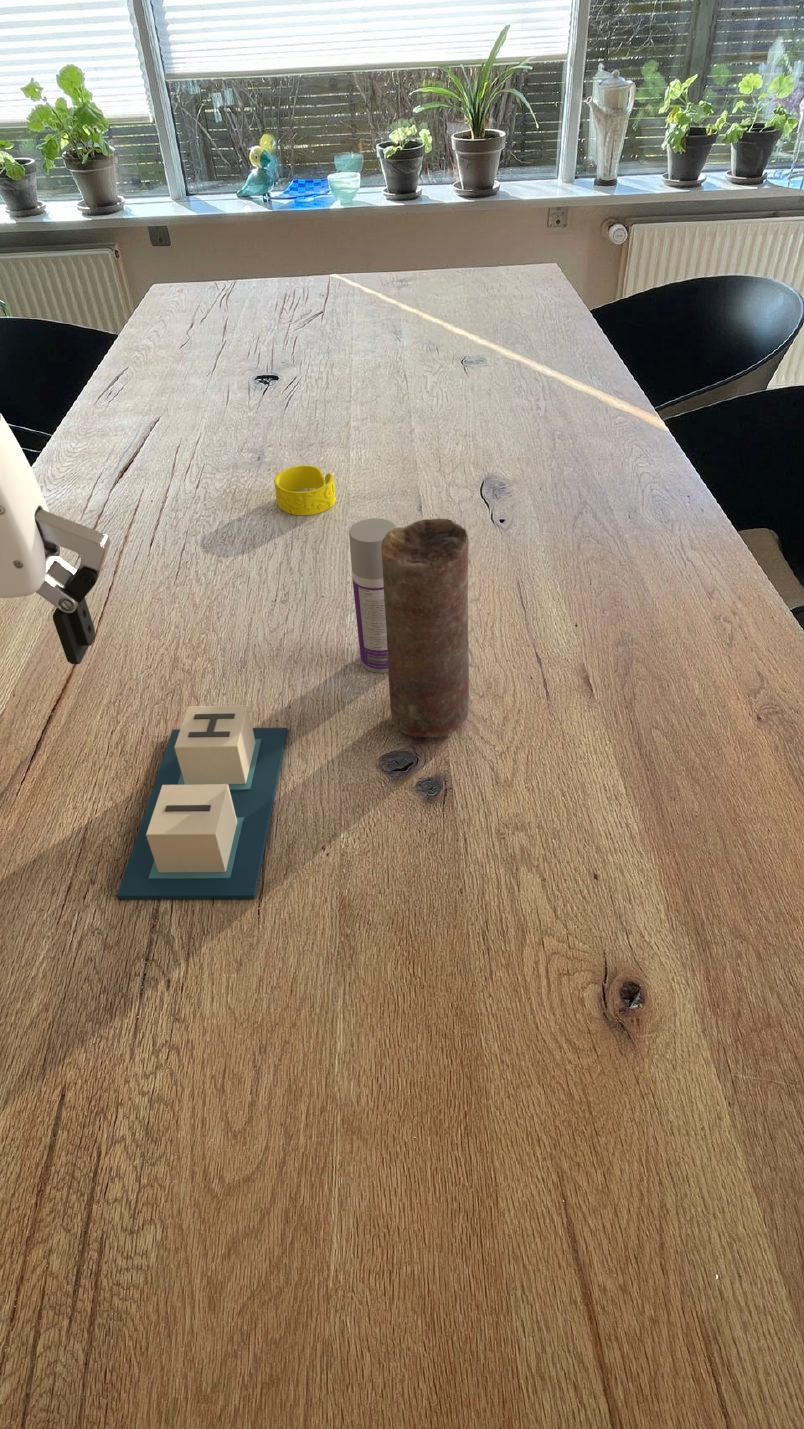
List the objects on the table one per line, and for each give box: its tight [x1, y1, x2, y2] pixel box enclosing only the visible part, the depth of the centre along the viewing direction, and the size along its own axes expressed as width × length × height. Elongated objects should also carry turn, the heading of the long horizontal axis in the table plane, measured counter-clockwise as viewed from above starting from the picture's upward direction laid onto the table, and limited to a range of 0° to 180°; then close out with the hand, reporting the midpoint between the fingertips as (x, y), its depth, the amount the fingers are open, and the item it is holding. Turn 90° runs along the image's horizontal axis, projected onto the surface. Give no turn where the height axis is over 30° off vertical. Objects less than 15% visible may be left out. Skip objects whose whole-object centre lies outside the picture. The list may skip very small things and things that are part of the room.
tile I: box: [146, 784, 237, 872], centre depth 77 cm, size 6×6×5 cm
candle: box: [381, 517, 470, 738], centre depth 83 cm, size 8×7×20 cm
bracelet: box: [273, 464, 337, 516], centre depth 124 cm, size 7×8×3 cm
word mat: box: [116, 727, 288, 901], centre depth 82 cm, size 11×20×1 cm, turn 178°
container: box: [348, 517, 397, 674], centre depth 93 cm, size 5×5×15 cm
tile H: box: [174, 704, 255, 785], centre depth 84 cm, size 6×6×5 cm
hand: (10, 653), depth 63 cm, fingers open, 9 cm apart
